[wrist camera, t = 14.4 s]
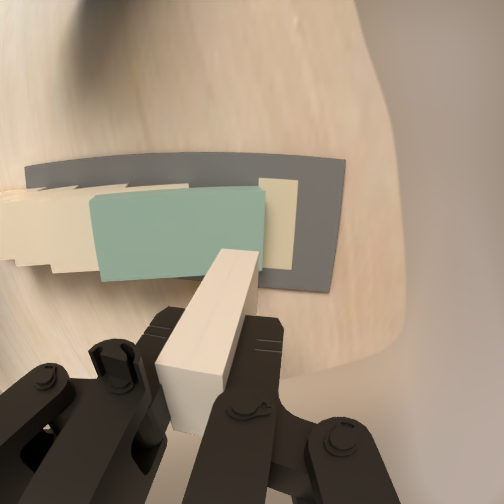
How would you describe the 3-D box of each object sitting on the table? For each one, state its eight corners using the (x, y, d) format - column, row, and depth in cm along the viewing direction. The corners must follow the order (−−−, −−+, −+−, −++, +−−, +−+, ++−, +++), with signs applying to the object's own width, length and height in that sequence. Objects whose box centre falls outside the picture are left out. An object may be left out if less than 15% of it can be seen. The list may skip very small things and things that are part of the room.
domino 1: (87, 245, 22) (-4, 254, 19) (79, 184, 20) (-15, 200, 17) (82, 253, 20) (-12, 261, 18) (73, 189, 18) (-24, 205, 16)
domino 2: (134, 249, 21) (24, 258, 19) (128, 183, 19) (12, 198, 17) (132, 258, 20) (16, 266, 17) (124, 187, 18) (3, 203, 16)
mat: (41, 258, 24) (39, 259, 23) (26, 166, 20) (24, 167, 20) (328, 289, 21) (329, 292, 20) (344, 159, 17) (345, 160, 17)
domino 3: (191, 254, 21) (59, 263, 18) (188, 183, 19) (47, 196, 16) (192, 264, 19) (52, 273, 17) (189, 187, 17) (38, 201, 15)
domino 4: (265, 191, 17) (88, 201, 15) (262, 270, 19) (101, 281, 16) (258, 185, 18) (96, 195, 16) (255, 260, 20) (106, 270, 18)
